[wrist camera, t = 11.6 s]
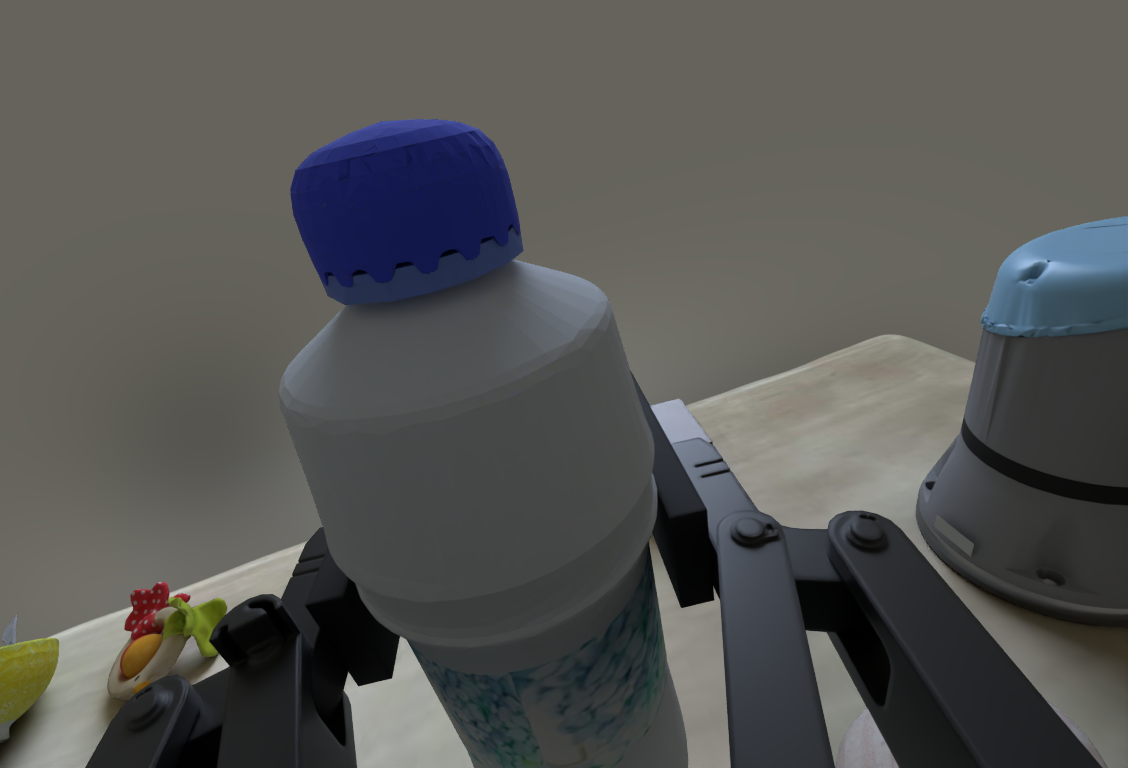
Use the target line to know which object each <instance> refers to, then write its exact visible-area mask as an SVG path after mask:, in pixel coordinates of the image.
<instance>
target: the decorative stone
mask: <svg viewBox="0 0 1128 768" xmlns="http://www.w3.org/2000/svg"><path fill="white" fill-rule="evenodd" d="M1046 701H1047V700H1046ZM1047 702H1048V701H1047ZM1048 704H1049V705H1050V706H1051V707H1052V708H1053V710H1054V711H1055V712H1056V713H1057V714H1058V715H1059V717H1060V718H1061V719H1062V720H1063V721H1064V723H1065V724H1066V725H1067V726H1068V727H1069V728H1070V730H1071V731H1072V732H1073V733H1074V734H1075V736H1076V737H1077V738H1078V739H1079V740H1080V741H1081V743H1082V744H1083V745H1084V746H1085V747H1086V749H1087V750H1088V751H1089V752H1090V753H1091V754H1092V756H1093V757H1094V758H1095V759H1096V760H1097V762H1098V763H1099V764H1100V765H1101V766H1102V767H1103V768H1107V766H1106V764H1105V762H1104V761H1103V759H1102V757H1101V755H1100V754H1099V752H1098V751H1097V749H1096V748H1095V747H1094V745H1093V744H1092V743H1091V741H1090V740H1089V739H1088V738H1087V736H1086V735H1085V734H1084V733H1083V732H1082V731H1081V730H1080V729H1079V728H1078V727H1077V726H1076V724H1075V723H1074V722H1072V721H1071V720H1070V719H1069V718H1068V717H1067V716H1066V715H1065V714H1064V713H1063V712H1061V711H1060V710H1059V709H1057V708H1056V707H1055V706H1053V705H1052V704H1051V703H1049V702H1048ZM836 768H899V766H898V764H897V763H896V761H895V759H894V757H893V755H892V753H891V751H890V749H889V748H888V746H887V744H886V742H885V740H884V738H883V736H882V735H881V733H880V731H879V729H878V727H877V725H876V723H875V721H874V720H873V718H872V716H871V714H870V712H869V710H868V708H867V709H866V710H865V711H863V712H862V713H861V714H860V715H859V716H858V718H857V719H856V720H855V721H854V722H853V723H852V724H851V726H850V727H849V729H848V731H847V732H846V734H845V735H844V737H843V740H842V742H841V744H840V747H839V751H838V754H837V761H836Z"/></svg>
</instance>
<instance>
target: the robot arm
mask: <svg viewBox="0 0 1128 768" xmlns="http://www.w3.org/2000/svg"><path fill="white" fill-rule="evenodd" d="M981 324H982V325H983V332H982V337H981V341H980V346H979V351H978V355H977V360H976V365H975V369H974V374H973V379H972V383H971V387H970V392H969V396H968V400H967V404H966V409H965V414H964V419H963V423H962V427H961V431H960V434H959V435H958V436H957V438H956V439H955V440H954V441H953V443H952V444H951V445H950V447H949V448H948V449H947V450H946V452H945V453H944V454H943V455H942V457H941V458H940V459H939V460H938V462H937V463H936V464H935V466H934V467H933V468H932V470H931V471H930V472H929V473H928V475H927V476H926V478H925V479H924V481H923V482H922V484H921V486H920V490H919V494H918V499H917V505H916V519H917V523H918V526H919V529H920V531H921V533H922V535H923V537H924V538H925V540H926V541H927V543H928V544H929V546H930V547H931V548H932V549H933V550H934V551H935V553H936V554H937V555H938V556H939V557H940V558H941V559H942V560H943V561H944V562H946V563H947V564H948V565H949V566H950V567H951V568H953V569H954V570H955V571H957V572H958V573H959V574H961V575H962V576H963V577H965V578H966V579H968V580H969V581H971V582H972V583H974V584H976V585H977V586H979V587H981V588H983V589H984V590H986V591H988V592H990V593H992V594H994V595H996V596H998V597H1000V598H1002V599H1004V600H1006V601H1009V602H1011V603H1013V604H1016V605H1018V606H1021V607H1023V608H1026V609H1029V610H1032V611H1035V612H1038V613H1041V614H1044V615H1048V616H1051V617H1055V618H1059V619H1063V620H1068V621H1072V622H1078V623H1084V624H1091V625H1101V626H1128V216H1125V217H1118V218H1112V219H1107V220H1101V221H1095V222H1090V223H1086V224H1081V225H1077V226H1073V227H1069V228H1066V229H1062V230H1059V231H1055V232H1052V233H1049V234H1046V235H1044V236H1041V237H1039V238H1036V239H1034V240H1032V241H1030V242H1028V243H1026V244H1024V245H1023V246H1021V247H1020V248H1018V249H1017V250H1015V251H1014V252H1013V253H1012V254H1010V256H1008V258H1007V259H1006V260H1005V261H1004V263H1003V264H1002V265H1001V267H1000V269H999V271H998V274H997V277H996V281H995V284H994V288H993V291H992V294H991V298H990V301H989V305H988V307H987V308H986V309H985V310H984V312H983V314H982V317H981ZM630 372H631V370H630ZM631 375H632V378H633V382H634V385H635V389H636V392H637V395H638V398H639V401H640V404H641V407H642V410H643V413H644V416H645V418H646V421H647V423H648V425H649V428H650V430H651V432H652V436H653V441H654V464H653V470H652V473H653V475H654V479H655V483H656V487H657V517H656V521H655V524H654V528H653V531H652V533H653V536H654V539H655V541H656V544H657V546H658V549H659V552H660V554H661V557H662V559H663V562H664V565H665V567H666V570H667V572H668V575H669V578H670V580H671V583H672V585H673V588H674V591H675V593H676V596H677V598H678V601H679V604H680V606H681V608H684V607H688V606H692V605H696V604H700V603H705V602H709V601H713V600H714V592H713V586H714V588H715V590H716V593H717V595H718V597H719V599H720V603H721V618H722V634H723V650H724V666H725V682H726V697H727V713H728V729H729V745H730V761H731V768H835V765H834V761H833V756H832V751H831V747H830V742H829V737H828V733H827V728H826V724H825V719H824V714H823V710H822V705H821V700H820V696H819V691H818V686H817V682H816V677H815V672H814V668H813V663H812V658H811V654H810V649H809V644H808V640H807V635H806V630H808V631H822V632H827V634H828V636H829V637H830V639H831V641H832V643H833V645H834V647H835V649H836V651H837V652H838V654H839V656H840V658H841V660H842V662H843V664H844V665H845V667H846V669H847V671H848V673H849V675H850V677H851V679H852V680H853V682H854V684H855V686H856V688H857V690H858V692H859V693H860V695H861V697H862V699H863V701H864V703H865V705H866V707H867V708H868V710H869V712H870V714H871V716H872V718H873V720H874V721H875V723H876V725H877V727H878V729H879V731H880V733H881V735H882V736H883V738H884V740H885V742H886V744H887V746H888V748H889V749H890V751H891V753H892V755H893V757H894V759H895V761H896V763H897V764H898V766H899V768H1103V767H1102V766H1101V765H1100V764H1099V763H1098V762H1097V760H1096V759H1095V758H1094V757H1093V756H1092V754H1091V753H1090V752H1089V751H1088V750H1087V749H1086V747H1085V746H1084V745H1083V744H1082V743H1081V741H1080V740H1079V739H1078V738H1077V737H1076V736H1075V734H1074V733H1073V732H1072V731H1071V730H1070V728H1069V727H1068V726H1067V725H1066V724H1065V723H1064V721H1063V720H1062V719H1061V718H1060V717H1059V715H1058V714H1057V713H1056V712H1055V711H1054V710H1053V708H1052V707H1051V706H1050V705H1049V704H1048V702H1047V701H1046V700H1045V699H1044V698H1043V697H1042V695H1041V694H1040V693H1039V692H1038V691H1037V689H1036V688H1035V687H1034V686H1033V685H1032V684H1031V682H1030V681H1029V680H1028V679H1027V678H1026V676H1025V675H1024V674H1023V673H1022V672H1021V671H1020V669H1019V668H1018V667H1017V666H1016V665H1015V663H1014V662H1013V661H1012V660H1011V659H1010V658H1009V656H1008V655H1007V654H1006V653H1005V652H1004V650H1003V649H1002V648H1001V647H1000V646H999V645H998V643H997V642H996V641H995V640H994V639H993V637H992V636H991V635H990V634H989V633H988V632H987V630H986V629H985V628H984V627H983V626H982V624H981V623H980V622H979V621H978V620H977V618H976V617H975V616H974V615H973V614H972V613H971V611H970V610H969V609H968V608H967V607H966V605H965V604H964V603H963V602H962V601H961V600H960V598H959V597H958V596H957V595H956V594H955V592H954V591H953V590H952V589H951V588H950V587H949V585H948V584H947V583H946V582H945V581H944V579H943V578H942V577H941V576H940V575H939V574H938V572H937V571H936V570H935V569H934V568H933V566H932V565H931V564H930V563H929V562H928V561H927V559H926V558H925V557H924V556H923V555H922V553H921V552H920V551H919V550H918V549H917V548H916V546H915V545H914V544H913V543H912V542H911V540H910V539H909V538H908V537H907V536H906V535H905V533H904V532H903V531H902V530H901V529H900V528H899V527H898V526H897V525H895V524H894V523H893V522H892V521H891V520H889V519H886V518H884V517H882V516H880V515H878V514H875V513H870V512H866V511H847V512H844V513H841V514H838V515H836V516H835V517H834V518H833V519H832V520H830V521H829V525H828V529H798V528H790V527H786V526H782V525H780V524H779V523H778V522H777V521H776V520H775V519H774V518H772V517H771V516H769V515H767V514H764V513H762V512H760V511H759V510H758V509H757V508H756V506H755V505H754V503H753V502H752V500H751V499H750V498H749V496H748V495H747V493H746V492H745V490H744V489H743V487H742V486H741V484H740V483H739V481H738V480H737V478H736V477H735V476H734V474H733V473H732V472H731V471H730V468H729V467H728V465H727V464H726V462H725V461H723V458H722V456H721V455H720V454H719V452H718V451H717V449H716V448H715V446H714V445H712V444H710V443H709V442H707V441H705V440H704V439H702V438H700V437H696V438H692V439H688V440H684V441H679V442H675V443H670V441H669V439H668V438H667V436H666V434H665V432H664V430H663V429H662V427H661V425H660V423H659V421H658V419H657V418H656V416H655V414H654V412H653V410H652V409H651V407H650V405H649V403H648V401H647V399H646V398H645V396H644V394H643V392H642V390H641V389H640V387H639V385H638V383H637V381H636V380H635V378H634V376H633V374H632V372H631ZM298 561H299V564H297V565H296V567H295V569H294V571H293V574H292V575H293V577H292V578H290V580H289V582H288V585H287V587H286V589H285V591H284V594H283V596H282V598H281V599H280V598H278V597H277V596H275V595H273V594H262V595H259V596H256V597H253V598H250V599H248V600H246V601H244V602H243V603H241V604H239V605H238V606H236V607H234V608H233V609H232V610H231V611H230V612H229V613H227V614H226V615H225V616H224V617H223V618H222V619H221V620H220V622H219V623H218V624H217V625H216V627H215V628H214V629H213V631H212V634H211V636H210V639H209V642H210V643H211V644H212V646H213V647H214V648H215V649H216V650H217V651H218V653H219V654H220V655H221V656H222V657H223V659H224V660H225V661H226V662H227V663H228V664H229V667H228V668H226V669H224V670H222V671H220V672H218V673H216V674H214V675H212V676H210V677H208V678H206V679H204V680H202V681H200V682H198V683H196V684H194V685H191V684H190V683H189V682H188V681H187V680H186V679H185V678H183V677H181V676H178V675H173V676H166V677H163V678H161V679H159V680H156V681H154V682H152V683H150V684H149V685H147V686H146V687H144V688H143V689H142V690H140V691H139V692H137V693H136V694H135V695H134V696H133V697H132V698H131V699H130V700H128V701H127V702H126V703H125V704H124V705H123V706H122V707H121V709H120V710H119V711H118V713H117V714H116V716H115V717H114V718H113V720H112V721H111V723H110V725H109V726H108V728H107V730H106V732H105V734H104V735H103V737H102V739H101V741H100V742H99V744H98V746H97V748H96V750H95V751H94V753H93V755H92V757H91V758H90V760H89V762H88V764H87V766H86V767H85V768H357V763H356V753H355V742H354V732H353V722H352V712H351V704H350V701H349V698H348V696H347V695H346V693H345V692H344V686H345V682H346V678H347V675H348V671H349V673H350V674H351V676H352V677H353V679H354V680H355V682H356V683H357V685H358V686H362V685H366V684H370V683H374V682H378V681H383V680H387V679H391V678H392V676H393V671H394V665H395V660H396V654H397V649H398V644H399V638H400V636H399V635H397V634H395V633H393V632H391V631H390V630H389V629H387V628H386V627H385V626H383V625H382V624H381V623H379V622H378V621H377V620H376V619H375V618H374V617H373V615H372V614H371V613H370V611H369V610H368V608H367V607H366V606H365V604H364V603H363V601H362V600H361V598H360V595H359V592H358V590H357V587H356V583H355V582H353V581H352V580H351V579H350V578H348V577H347V576H346V574H345V573H344V572H343V571H342V570H341V569H340V568H339V567H338V566H337V565H336V563H335V561H334V559H333V557H332V555H331V553H330V551H329V548H328V545H327V541H326V536H325V532H324V528H323V527H321V528H319V530H318V531H317V532H316V533H315V534H314V535H313V536H312V537H311V539H310V540H309V541H308V542H307V543H306V545H305V547H304V549H303V551H302V553H301V556H300V558H299V560H298Z"/></svg>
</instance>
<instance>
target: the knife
mask: <svg viewBox="0 0 1128 768" xmlns="http://www.w3.org/2000/svg"><path fill="white" fill-rule="evenodd" d="M17 617H18V614H17V615H16V616H15V617H14V618H13V619H12V621H11V622H10V623H9V625H8V626H7V628H6V630H5V632H4V634H3V636H2V641H3V642H5V646H8V645H10V643H11V645H13V644H16V621H17Z"/></svg>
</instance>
